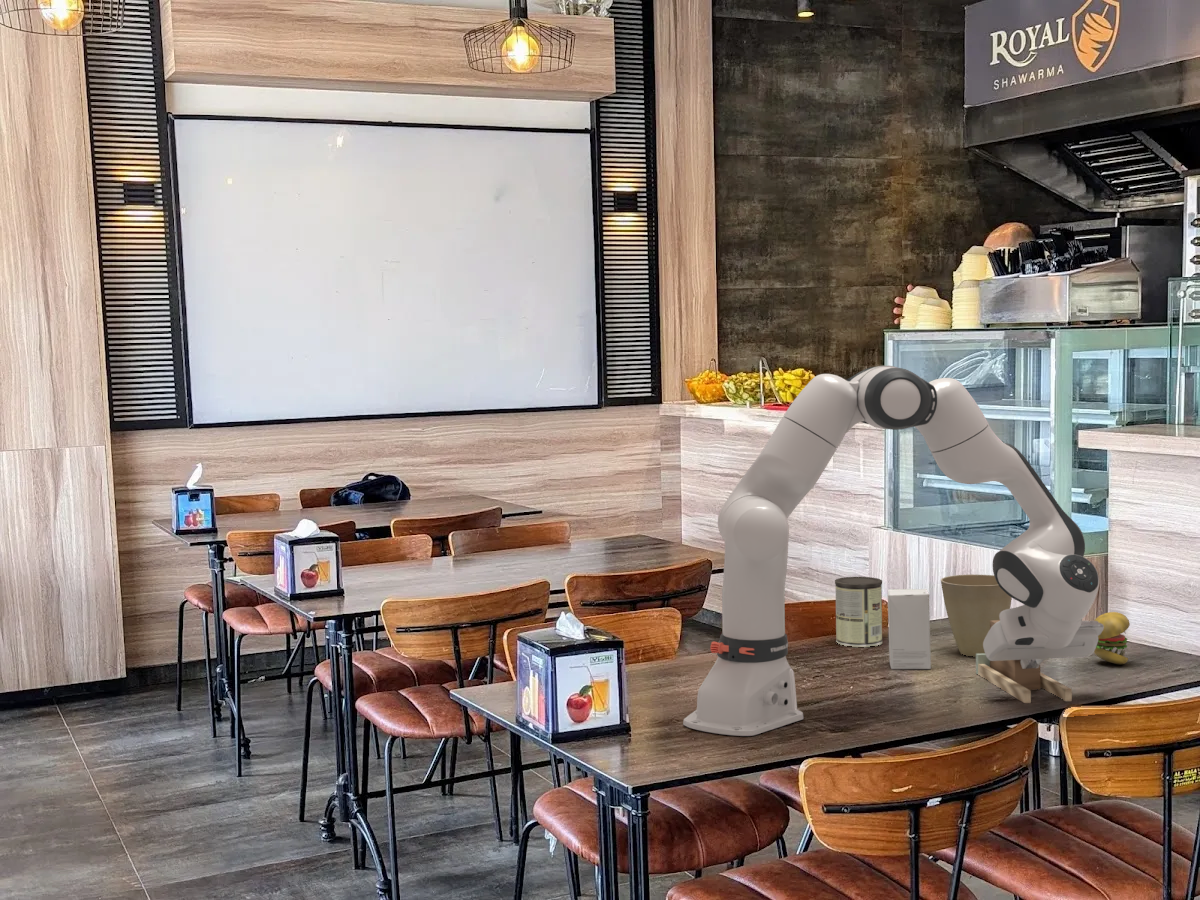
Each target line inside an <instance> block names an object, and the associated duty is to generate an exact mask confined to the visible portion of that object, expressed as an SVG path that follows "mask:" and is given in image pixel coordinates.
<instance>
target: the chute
mask: <svg viewBox="0 0 1200 900" xmlns="http://www.w3.org/2000/svg"><path fill="white" fill-rule="evenodd" d="M979 675H980V676H979ZM978 676H979V677H981V678H982V677H983V678H982V679H984V678H985V679H984V680H986V679H987V680H988V681H987V680H986V681H987V682H989V683H991V684H992V685H994V686H995V685H996V686H995V687H997V688H998V689H1000V688H1001V689H1000V690H1002V691H1004V692H1005V691H1006V692H1005V693H1008V695H1010V696H1012V697H1014V698H1015V699H1017V700H1018V701H1020V702H1022V703H1024V704H1031V702H1032V701H1031V700H1032V690H1028V689H1027V688H1025V687H1023V686H1021V685H1020V684H1018V683H1016V682H1015V681H1013V680H1011V679H1009V678H1008V677H1006V676H1004V675H1003V674H1001V673H999V672H997V671H996V670H994V669H992V668H990V667H989V666H987V665H985V664H978ZM1040 689H1043V690H1044V689H1045V691H1046V692H1048V693H1049V694H1051V693H1052V694H1051V695H1053V694H1054V695H1053V696H1055V695H1056V696H1055V697H1057V696H1058V697H1060V698H1062V699H1063V700H1062V699H1061V700H1062V701H1064V702H1073V701H1072V699H1073V698H1072V697H1073V693H1072V692H1073V689H1072V688H1070V687H1068V686H1067V685H1065V684H1062V683H1061V682H1060V681H1058V680H1056V679H1053V678H1051V677H1050V676H1048V675H1046V674H1045V673H1043V672H1041V671H1040ZM1058 697H1057V698H1058ZM1060 698H1059V699H1060Z"/></svg>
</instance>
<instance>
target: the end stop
mask: <svg viewBox="0 0 1200 900" xmlns="http://www.w3.org/2000/svg"><path fill="white" fill-rule="evenodd" d="M978 664H985V665H987V666H989V667H990V660H989V659H988V658H987V657H986V654H985V653H981V654H976V657H975V674H976V675H977V674H978Z"/></svg>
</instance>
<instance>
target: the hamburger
mask: <svg viewBox="0 0 1200 900" xmlns="http://www.w3.org/2000/svg"><path fill="white" fill-rule="evenodd" d="M1097 609H1098V610H1099V611H1100V612H1102V614H1100V615H1098V616H1097V617H1095V619H1094V620H1093V621H1098V622H1099V623H1102V624H1103V625H1104V629H1103V631H1102V633H1101V634H1100V635H1098V643H1097V646H1096V648H1095V651H1094V653H1093V654H1094V655H1095V656H1096V657H1098V658H1099V659H1101V660H1103V661H1105V662H1108V663H1109V664H1111V663H1112V664H1115V665H1125V664H1126V663H1127V662H1128V661H1129V658H1128V657H1127V656H1126V649H1127V648H1128V645H1127V643H1128V638H1127V637H1126V636H1125V635H1124V634H1127V633H1126V631H1127V630H1128V629H1129V628H1130V625H1131V624H1130V621H1129V619H1128V618H1127V616H1126V615H1125V614H1123V613H1121V612H1117V611H1109V612H1105V613H1104V610H1103V608H1102V606H1099V607H1097ZM1123 633H1124V634H1123ZM1114 648H1116V650H1115V651H1114V652H1113V650H1114ZM1119 650H1121V651H1120V652H1119ZM1118 652H1119V653H1118Z"/></svg>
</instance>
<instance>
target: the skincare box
mask: <svg viewBox="0 0 1200 900" xmlns="http://www.w3.org/2000/svg"><path fill="white" fill-rule="evenodd" d="M930 595H931V594H930V593H929V592H928V590H927V588H912V589H911V588H907V589H906V588H905V589H904V588H900V589H897V588H896V589H894V588H890V589H889V588H888V589H887V614H888V615H887V616H888V654H889V655H888V658H889V660H888V661H889V666H890V669H891V670H931V669H932V660H931V659H932V658H931V657H932V656H931V623H930V622H931V621H930V618H931V617H930V613H931V611H930Z"/></svg>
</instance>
